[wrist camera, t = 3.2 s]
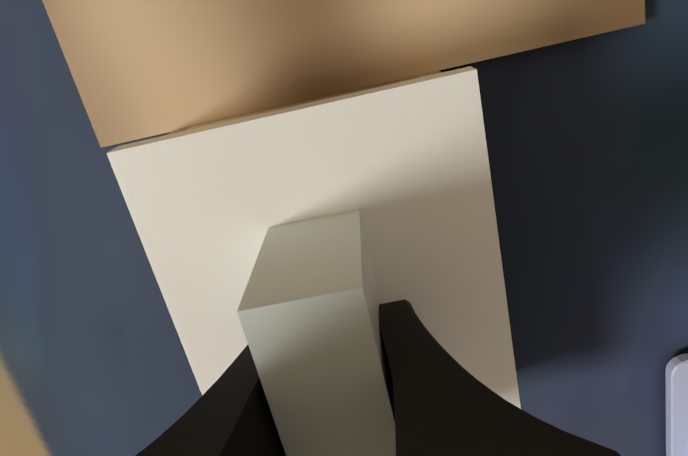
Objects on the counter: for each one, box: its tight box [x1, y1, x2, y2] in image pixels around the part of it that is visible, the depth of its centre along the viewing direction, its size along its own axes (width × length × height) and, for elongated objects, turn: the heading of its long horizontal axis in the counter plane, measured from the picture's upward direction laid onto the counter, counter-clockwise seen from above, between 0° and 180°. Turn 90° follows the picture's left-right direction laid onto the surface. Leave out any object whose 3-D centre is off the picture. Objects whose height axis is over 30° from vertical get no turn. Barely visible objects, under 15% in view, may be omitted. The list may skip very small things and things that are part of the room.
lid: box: [107, 66, 521, 456], centre depth 12 cm, size 8×11×5 cm
